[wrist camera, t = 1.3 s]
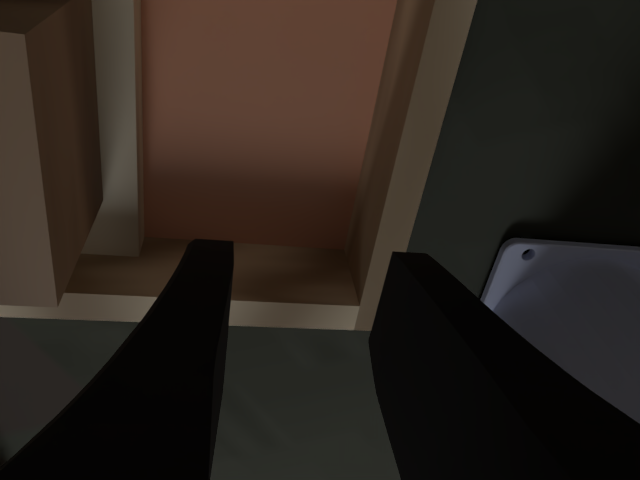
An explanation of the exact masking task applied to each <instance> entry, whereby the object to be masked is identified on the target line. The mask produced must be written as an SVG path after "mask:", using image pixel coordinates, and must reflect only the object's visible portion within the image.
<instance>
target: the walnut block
mask: <svg viewBox="0 0 640 480" xmlns="http://www.w3.org/2000/svg"><path fill="white" fill-rule="evenodd" d="M102 202H103V189H102V171H101V154H100V137H99V120H98V103H97V86H96V69H95V52H94V35H93V18H92V1H91V0H0V305H9V306H33V307H57V308H58V306H59V303H60V301H61V299H62V296H63V294H64V292H65V289H66V287H67V285H68V282H69V280H70V277H71V275H72V273H73V270H74V268H75V266H76V263H77V261H78V259H79V256H80V254H81V252H82V249H83V247H84V244H85V242H86V240H87V237H88V235H89V233H90V230H91V228H92V226H93V223H94V221H95V219H96V216H97V214H98V211H99V209H100V207H101V204H102Z"/></svg>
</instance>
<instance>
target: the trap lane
mask: <svg viewBox="0 0 640 480" xmlns="http://www.w3.org/2000/svg"><path fill="white" fill-rule="evenodd" d="M91 1H92V18H93V35H94V52H95V69H96V86H97V103H98V120H99V137H100V154H101V171H102V189H103V202H102V204H101V207H100V209H99V211H98V214H97V216H96V219H95V221H94V223H93V226H92V228H91V230H90V233H89V235H88V237H87V240H86V242H85V244H84V247H83V249H82V252H81V254H80V256H79V259H78V261H77V263H76V266H75V268H74V270H73V273H72V275H71V277H70V280H69V282H68V285H67V287H66V289H65V292H64V294H63V296H62V299H61V301H60V303H59V306H58V308H57V307H33V306H9V305H0V317H18V318H45V319H72V320H98V321H125V322H140V321H141V320H142V319H143V317H144V316H145V315H146V313H147V312H148V310H149V309H150V307H151V306H152V305H153V303H154V302H155V300H156V299H157V297H158V296H159V295H160V293H161V292H162V290H163V289H164V287H165V286H166V284H167V283H168V281H169V279H170V278H171V276H172V275H173V273H174V271H175V270H176V268H177V266H178V264H179V262H180V261H181V259H182V256H183V254H184V252H185V250H186V247H187V245H188V244H189V243H190V242H191V241H193V240H194V239H209V240H225V241H234V270H233V281H232V293H231V304H230V315H229V325H231V326H258V327H284V328H311V329H337V330H364V331H371V329H372V326H373V322H374V318H375V315H376V311H377V307H378V303H379V300H380V296H381V292H382V288H383V285H384V281H385V277H386V274H387V270H388V266H389V262H390V259H391V255H392V251H394V252H406V250H407V246H408V243H409V239H410V236H411V232H412V229H413V225H414V222H415V218H416V215H417V211H418V208H419V204H420V200H421V197H422V193H423V190H424V186H425V183H426V179H427V176H428V172H429V169H430V165H431V162H432V158H433V155H434V151H435V148H436V144H437V141H438V137H439V134H440V130H441V127H442V123H443V119H444V116H445V112H446V109H447V105H448V102H449V98H450V95H451V91H452V88H453V84H454V81H455V77H456V74H457V70H458V67H459V63H460V60H461V56H462V53H463V49H464V45H465V42H466V38H467V35H468V31H469V28H470V24H471V21H472V17H473V14H474V10H475V7H476V3H477V0H91Z"/></svg>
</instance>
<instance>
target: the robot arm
mask: <svg viewBox="0 0 640 480" xmlns="http://www.w3.org/2000/svg"><path fill="white" fill-rule="evenodd" d="M527 249H530V251H529V252H528V253H526V254H523V252H524V251H526V250H527ZM522 254H523V255H522ZM233 270H234V241H225V240H209V239H194V240H193V241H191V242H190V243H189V244H188V245H187V247H186V250H185V252H184V254H183V256H182V259H181V261H180V262H179V264H178V266H177V268H176V270H175V271H174V273H173V275H172V276H171V278H170V279H169V281H168V283H167V284H166V286H165V287H164V289H163V290H162V292H161V293H160V295H159V296H158V297H157V299H156V300H155V302H154V303H153V305H152V306H151V307H150V309H149V310H148V312H147V313H146V315H145V316H144V317H143V319H142V320H141V321H140V323H139V324H138V325H137V327H136V328H135V329H134V330H133V331H132V333H131V334H130V335H129V336H128V338H127V339H126V340H125V341H124V342H123V344H122V345H121V346H120V347H119V349H118V350H117V351H116V352H115V353H114V355H113V356H112V357H111V358H110V360H109V361H108V362H107V363H106V364H105V365H104V366H103V368H102V369H101V370H100V371H99V372H98V373H97V374H96V375H95V376H94V378H93V379H92V380H91V381H90V382H89V383H88V384H87V385H86V386H85V387H84V388H83V389H82V390H81V391H80V392H79V393H78V395H77V396H76V397H75V398H74V399H73V400H72V401H71V402H70V403H69V404H68V405H67V406H66V407H65V408H64V409H63V410H62V411H61V412H60V413H59V414H58V415H57V416H56V417H55V418H54V419H53V420H52V421H50V422H49V423H48V424H47V425H46V426H45V427H44V428H43V429H42V430H41V431H40V432H39V433H38V434H37V435H35V436H34V437H33V438H32V439H31V440H30V441H29V442H28V443H27V444H26V445H25V446H24V447H23V448H21V449H20V450H19V451H18V452H17V453H16V454H15V455H14V456H13V457H12V458H11V459H9V460H8V461H7V462H6V463H5V464H4V465H3V466H1V467H0V480H210V475H211V468H212V461H213V455H214V448H215V441H216V434H217V427H218V420H219V413H220V407H221V400H222V393H223V383H224V372H225V360H226V349H227V338H228V327H229V315H230V304H231V293H232V281H233ZM369 349H370V356H371V363H372V370H373V376H374V382H375V388H376V394H377V397H378V401H379V405H380V408H381V412H382V415H383V419H384V422H385V426H386V429H387V433H388V436H389V440H390V443H391V446H392V450H393V453H394V457H395V460H396V463H397V467H398V470H399V474H400V477H401V480H640V247H637V246H623V245H609V244H595V243H582V242H568V241H554V240H540V239H526V238H512V239H509V240H507V241H506V242H505V243H503V245H502V246H501V248H500V250H499V253H498V256H497V258H496V261H495V263H494V266H493V268H492V271H491V273H490V276H489V279H488V281H487V284H486V286H485V289H484V291H483V294H482V297H481V299H478V298H477V297H476V296H475V295H474V294H473V293H472V292H471V291H470V290H468V289H467V288H466V287H465V286H464V285H463V284H462V283H461V282H460V281H458V280H457V279H456V278H455V277H454V276H453V275H452V274H451V273H449V272H448V271H447V270H446V269H445V268H444V267H443V266H441V265H440V264H439V263H438V262H437V261H435V260H434V259H433V258H432V257H430V256H429V255H428V254H425V253H410V252H394V251H392V255H391V259H390V262H389V266H388V270H387V274H386V277H385V281H384V285H383V288H382V292H381V296H380V300H379V303H378V307H377V311H376V315H375V318H374V322H373V326H372V329H371V333H370V337H369Z"/></svg>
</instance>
